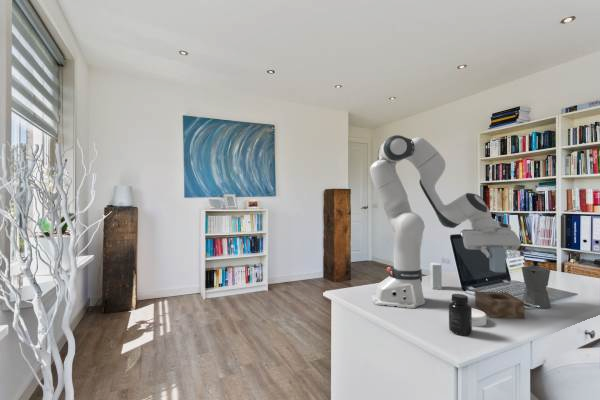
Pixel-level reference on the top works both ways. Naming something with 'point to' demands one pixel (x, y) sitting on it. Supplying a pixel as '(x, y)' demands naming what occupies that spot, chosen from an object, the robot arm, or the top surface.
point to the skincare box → (435, 276)
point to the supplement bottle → (460, 315)
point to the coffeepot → (536, 285)
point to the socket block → (499, 305)
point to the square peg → (497, 259)
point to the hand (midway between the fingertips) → (497, 257)
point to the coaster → (478, 317)
